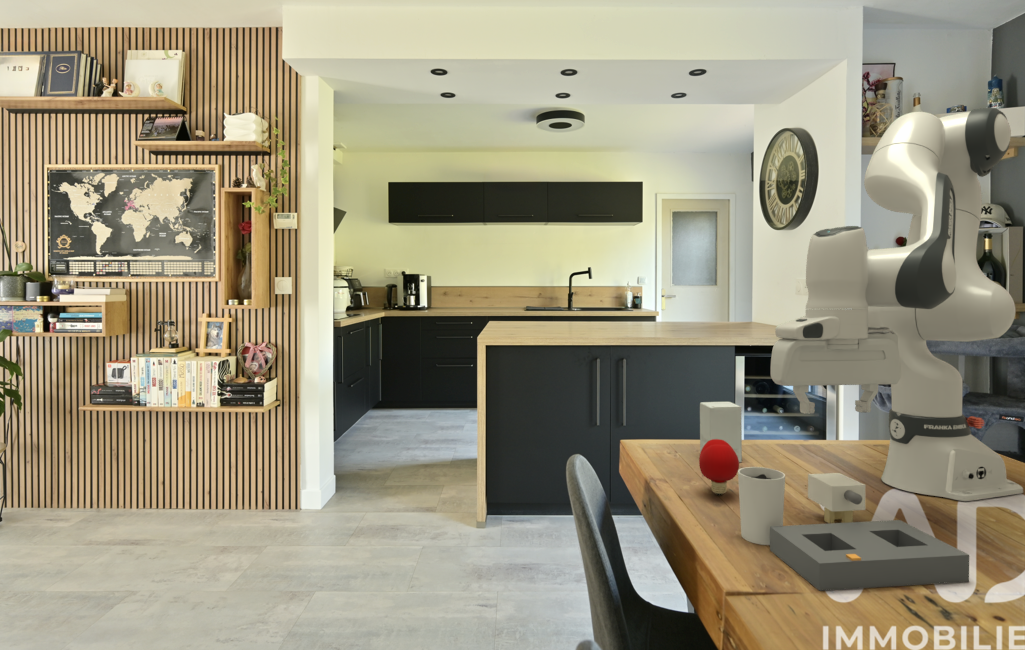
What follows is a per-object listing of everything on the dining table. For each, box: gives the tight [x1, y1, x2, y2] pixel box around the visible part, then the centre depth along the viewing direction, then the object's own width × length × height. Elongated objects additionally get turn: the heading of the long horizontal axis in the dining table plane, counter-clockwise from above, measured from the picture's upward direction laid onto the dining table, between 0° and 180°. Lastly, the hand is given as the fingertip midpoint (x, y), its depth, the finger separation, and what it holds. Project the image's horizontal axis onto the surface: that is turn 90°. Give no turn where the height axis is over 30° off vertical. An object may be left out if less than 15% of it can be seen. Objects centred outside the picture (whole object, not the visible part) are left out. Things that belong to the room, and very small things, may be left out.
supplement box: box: [699, 401, 743, 463], centre depth 133 cm, size 7×7×13 cm
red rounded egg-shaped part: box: [698, 439, 740, 496], centre depth 109 cm, size 9×7×10 cm
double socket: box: [769, 519, 970, 591], centre depth 80 cm, size 20×12×4 cm, turn 94°
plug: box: [807, 472, 866, 524], centre depth 94 cm, size 6×8×7 cm, turn 4°
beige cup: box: [737, 466, 786, 546], centre depth 89 cm, size 7×7×10 cm
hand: (835, 412), depth 94 cm, fingers open, 8 cm apart
